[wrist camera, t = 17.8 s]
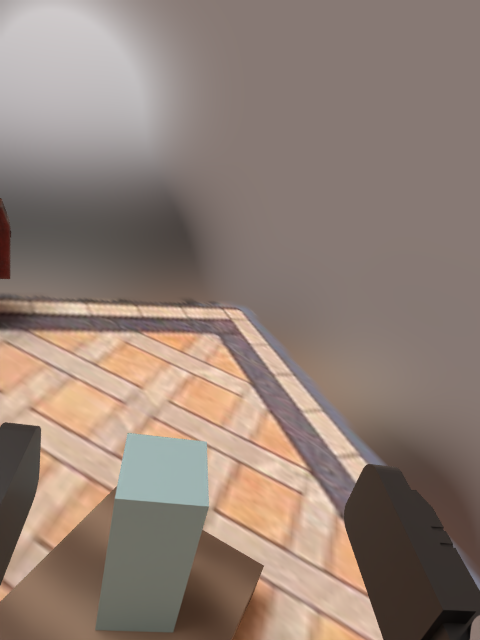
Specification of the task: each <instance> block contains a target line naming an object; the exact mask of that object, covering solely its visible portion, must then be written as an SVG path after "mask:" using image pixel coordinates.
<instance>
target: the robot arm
mask: <svg viewBox="0 0 480 640" xmlns="http://www.w3.org/2000/svg"><path fill="white" fill-rule="evenodd" d="M40 443H41V428H40V426H32V425H23V424H15V423H6V422H5V423H3V424H2V425H1V427H0V585H1V582H2V580H3V577H4V575H5V572H6V569H7V567H8V564H9V562H10V559H11V557H12V554H13V552H14V549H15V546H16V544H17V541H18V539H19V536H20V534H21V531H22V529H23V526H24V523H25V521H26V518H27V516H28V513H29V511H30V508H31V506H32V503H33V500H34V497H35V493H36V490H37V485H38V480H39V468H40ZM344 522H345V528H346V531H347V534H348V537H349V540H350V543H351V546H352V549H353V552H354V555H355V558H356V560H357V563H358V566H359V569H360V572H361V575H362V578H363V581H364V584H365V587H366V590H367V593H368V596H369V598H370V601H371V604H372V607H373V610H374V613H375V616H376V619H377V622H378V625H379V628H380V631H381V634H382V636H383V639H384V640H480V591H479V589H478V587H477V585H476V584H475V582H474V580H473V578H472V577H471V575H470V573H469V571H468V570H467V568H466V566H465V564H464V563H463V561H462V559H461V557H460V555H459V554H458V552H457V550H456V548H453V543H452V541H451V540H450V538H449V536H448V534H447V532H446V531H444V530H443V526H442V524H441V522H440V520H439V518H438V517H437V515H436V513H435V511H434V509H433V508H432V507H431V506H430V505H429V504H428V502H427V501H426V500H425V499H424V498H423V497H422V496H421V495H420V494H419V493H418V492H417V491H416V490H411V489H410V487H409V485H408V483H407V481H406V479H405V478H404V476H403V474H402V472H401V471H400V470H399V469H398V468H397V467H390V466H382V465H373V464H368V465H366V466H365V467H364V468H363V470H362V472H361V474H360V476H359V478H358V480H357V483H356V485H355V487H354V489H353V491H352V493H351V495H350V497H349V499H348V501H347V503H346V506H345V511H344Z"/></svg>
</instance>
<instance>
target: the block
mask: <svg viewBox="0 0 480 640" xmlns="http://www.w3.org/2000/svg"><path fill="white" fill-rule="evenodd" d="M208 508H209V496H208V467H207V442H203V441H194V440H186V439H177V438H168V437H159V436H150V435H141V434H132V433H128V434H127V439H126V444H125V449H124V454H123V459H122V464H121V470H120V475H119V480H118V485H117V490H116V495H115V500H114V507H113V514H112V520H111V527H110V534H109V540H108V547H107V554H106V560H105V567H104V574H103V581H102V587H101V594H100V601H99V607H98V614H97V621H96V627H95V630H108V631H140V632H173V631H174V628H175V624H176V621H177V617H178V614H179V610H180V607H181V603H182V599H183V596H184V592H185V589H186V585H187V582H188V578H189V575H190V571H191V568H192V564H193V561H194V557H195V554H196V550H197V547H198V543H199V540H200V536H201V532H202V529H203V525H204V522H205V518H206V515H207V511H208Z"/></svg>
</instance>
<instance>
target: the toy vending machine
mask: <svg viewBox="0 0 480 640" xmlns="http://www.w3.org/2000/svg"><path fill="white" fill-rule="evenodd" d="M10 237H11V231H10V222H9V217H8V215H7V212H6V210H5V207H4V204H3V201H2V199H1V198H0V279H10Z"/></svg>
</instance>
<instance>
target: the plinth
mask: <svg viewBox="0 0 480 640" xmlns="http://www.w3.org/2000/svg"><path fill="white" fill-rule="evenodd" d="M116 490H117V487H116V488H115V489H114V490H113V491H112V492H111V493H110V494H108V495H107V496H106V497H105V498H104V499H103V500H102V501H101V502H100V503H99V504H98V505H97V506H96V507H95V508H94V509H93V510H92V511H91V512H90V513H89V514H88V515H87V516H86V517H85V518H84V519H83V520H82V521H81V522H80V523H79V524H78V525H77V526H76V527H75V528H74V529H73V530H72V531H71V532H70V533H69V534H68V535H67V536H66V537H65V538H64V539H63V540H62V541H61V542H60V543H59V544H58V545H57V546H56V547H55V548H54V549H53V550H52V551H51V552H50V553H49V554H48V555H47V556H46V557H45V558H44V559H43V560H42V561H41V562H40V563H39V564H38V565H37V566H36V567H35V568H34V569H33V570H32V571H31V572H30V573H29V574H28V575H27V576H26V577H25V578H24V579H23V580H22V581H21V582H20V583H19V584H18V585H17V586H16V587H15V588H14V589H13V590H12V591H11V592H10V593H9V594H8V595H7V596H6V597H5V598H4V599H3V600H2V601H1V602H0V640H233V638H234V635H235V633H236V631H237V629H238V626H239V624H240V622H241V620H242V617H243V615H244V613H245V611H246V608H247V606H248V604H249V602H250V599H251V597H252V595H253V592H254V590H255V587H256V585H257V582H258V580H259V577H260V574H261V572H262V569H263V567H264V566H263V565H262V564H260V563H258V562H256V561H255V560H253V559H251V558H250V557H248V556H246V555H244V554H243V553H241V552H239V551H238V550H236V549H234V548H232V547H231V546H229V545H227V544H226V543H224V542H222V541H220V540H219V539H217V538H215V537H214V536H212V535H210V534H208V533H207V532H205V531H203V530H202V532H201V536H200V540H199V543H198V547H197V550H196V554H195V557H194V561H193V564H192V568H191V571H190V575H189V578H188V582H187V585H186V589H185V592H184V596H183V599H182V603H181V607H180V610H179V614H178V617H177V621H176V624H175V628H174V631H173V632H140V631H108V630H95V627H96V621H97V614H98V607H99V601H100V594H101V587H102V581H103V574H104V567H105V560H106V554H107V547H108V540H109V534H110V527H111V520H112V514H113V507H114V500H115V495H116Z"/></svg>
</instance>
